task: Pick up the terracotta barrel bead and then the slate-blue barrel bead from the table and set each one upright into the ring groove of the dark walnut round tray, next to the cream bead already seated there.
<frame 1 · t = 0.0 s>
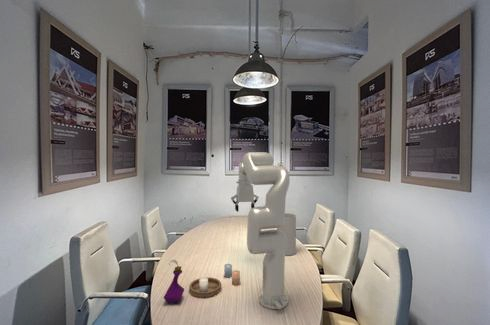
hand: (244, 210, 156), 31 cm above the table, fingers open, 9 cm apart
perfume bottle: (174, 301, 114), on the table
bead terracotta: (235, 283, 129), on the table
bead cream: (203, 292, 119), point 1 cm above the table, touching groove tray
groove tray: (205, 289, 123), on the table
cylinder vase: (286, 252, 172), on the table
bead slate: (228, 276, 137), on the table
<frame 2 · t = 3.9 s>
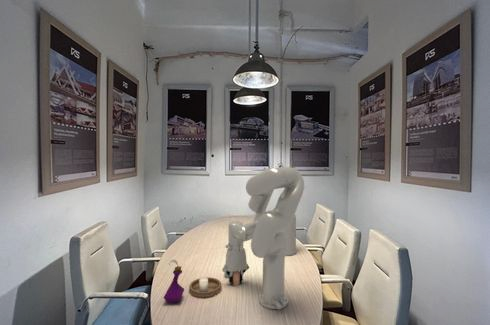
hand: (235, 282, 129), 1 cm above the table, fingers closed on bead terracotta, 4 cm apart
bead terracotta: (235, 283, 129), on the table, touching gripper
everything else where it was.
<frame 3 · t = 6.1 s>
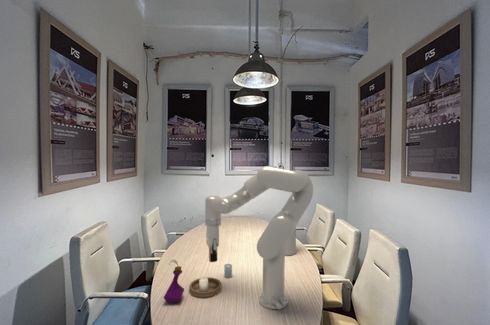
hand: (212, 259, 124), 14 cm above the table, fingers closed on bead terracotta, 4 cm apart
bead terracotta: (213, 260, 124), point 14 cm above the table, touching gripper
everything else where it was.
when the fingers open (3 cm above the table, at t = 8.3 s): bead terracotta drops 2 cm, resting on groove tray.
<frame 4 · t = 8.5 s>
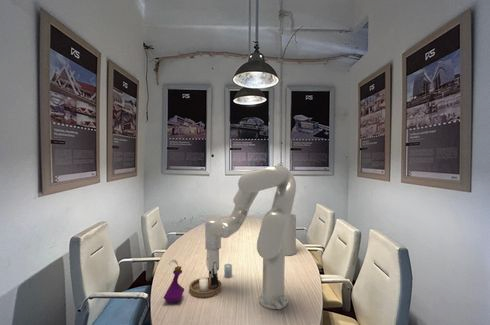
hand: (213, 281, 124), 4 cm above the table, fingers open, 6 cm apart
bead terracotta: (213, 287, 124), point 1 cm above the table, touching groove tray
everything else where it was.
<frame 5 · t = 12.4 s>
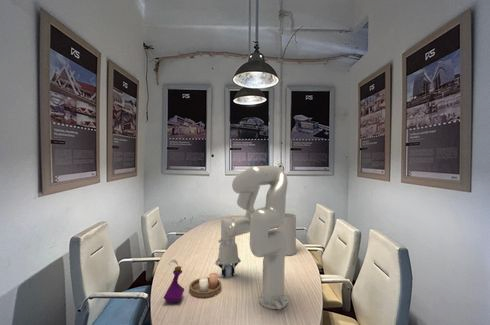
hand: (228, 275, 137), 1 cm above the table, fingers closed on bead slate, 4 cm apart
bead slate: (228, 276, 137), on the table, touching gripper
everything else where it was.
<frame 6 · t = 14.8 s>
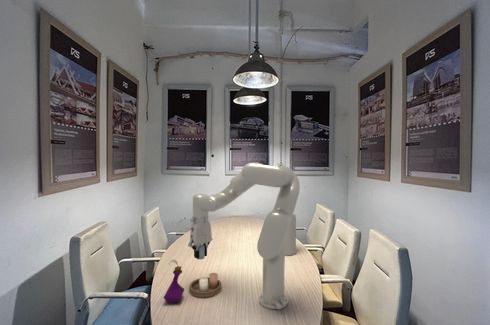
hand: (200, 256, 125), 15 cm above the table, fingers closed on bead slate, 4 cm apart
bead slate: (200, 257, 126), point 14 cm above the table, touching gripper
everything else where it was.
when the fingers open (3 cm above the table, at t = 17.2 s): bead slate drops 2 cm, resting on groove tray.
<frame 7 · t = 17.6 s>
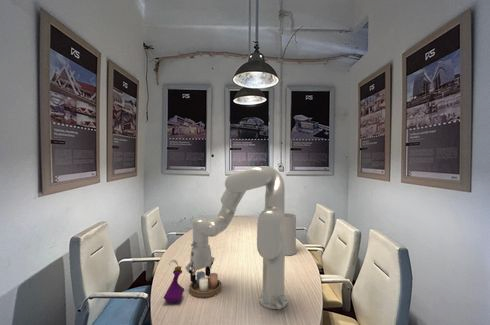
hand: (200, 278, 126), 4 cm above the table, fingers open, 8 cm apart
bead slate: (200, 285, 126), point 1 cm above the table, touching groove tray
everything else where it was.
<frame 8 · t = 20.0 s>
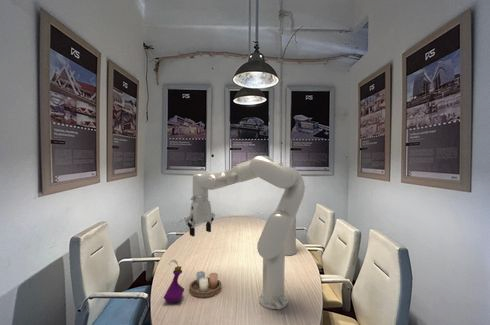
hand: (200, 233, 125), 26 cm above the table, fingers open, 9 cm apart
nothing on the table moved.
at the end: bead terracotta 0.2 cm from the target spot on the groove tray, point 0.8 cm above the groove tray's base; bead slate 0.0 cm from the target spot on the groove tray, point 0.8 cm above the groove tray's base; bead slate tilted 0° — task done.
